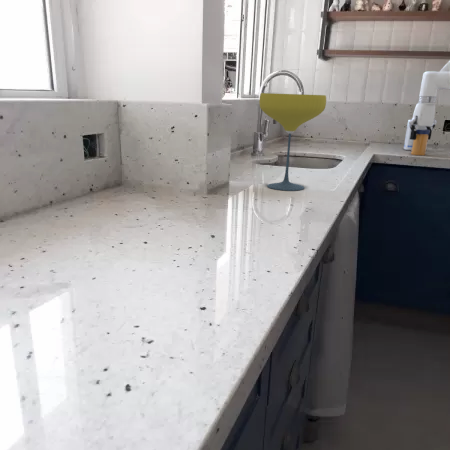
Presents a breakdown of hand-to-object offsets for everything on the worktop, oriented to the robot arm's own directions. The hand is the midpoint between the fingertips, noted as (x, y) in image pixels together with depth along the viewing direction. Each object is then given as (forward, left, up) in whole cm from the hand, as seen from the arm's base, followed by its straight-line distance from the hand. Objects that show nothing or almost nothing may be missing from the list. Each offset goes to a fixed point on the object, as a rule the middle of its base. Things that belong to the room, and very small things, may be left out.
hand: (420, 139), depth 231 cm
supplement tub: (+14, -16, -7) cm, 22 cm away
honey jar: (0, 0, -7) cm, 7 cm away
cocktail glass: (-40, +119, -7) cm, 126 cm away
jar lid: (0, 0, +4) cm, 4 cm away
